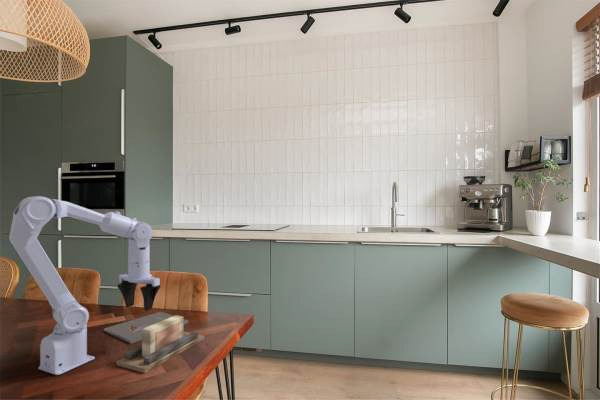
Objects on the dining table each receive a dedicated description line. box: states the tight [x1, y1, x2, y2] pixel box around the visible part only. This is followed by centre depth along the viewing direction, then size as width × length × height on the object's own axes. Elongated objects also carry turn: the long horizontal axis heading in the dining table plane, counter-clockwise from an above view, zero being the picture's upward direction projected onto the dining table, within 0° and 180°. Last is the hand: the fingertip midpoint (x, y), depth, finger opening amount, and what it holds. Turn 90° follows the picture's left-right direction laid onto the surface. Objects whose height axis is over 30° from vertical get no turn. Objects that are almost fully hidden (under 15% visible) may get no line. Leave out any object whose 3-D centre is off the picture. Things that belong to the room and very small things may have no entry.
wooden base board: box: [116, 331, 206, 374], centre depth 94 cm, size 22×10×2 cm, turn 156°
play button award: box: [103, 311, 189, 344], centre depth 112 cm, size 16×2×20 cm
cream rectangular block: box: [141, 314, 185, 356], centre depth 94 cm, size 12×3×7 cm, turn 156°
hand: (139, 307), depth 99 cm, fingers open, 7 cm apart
